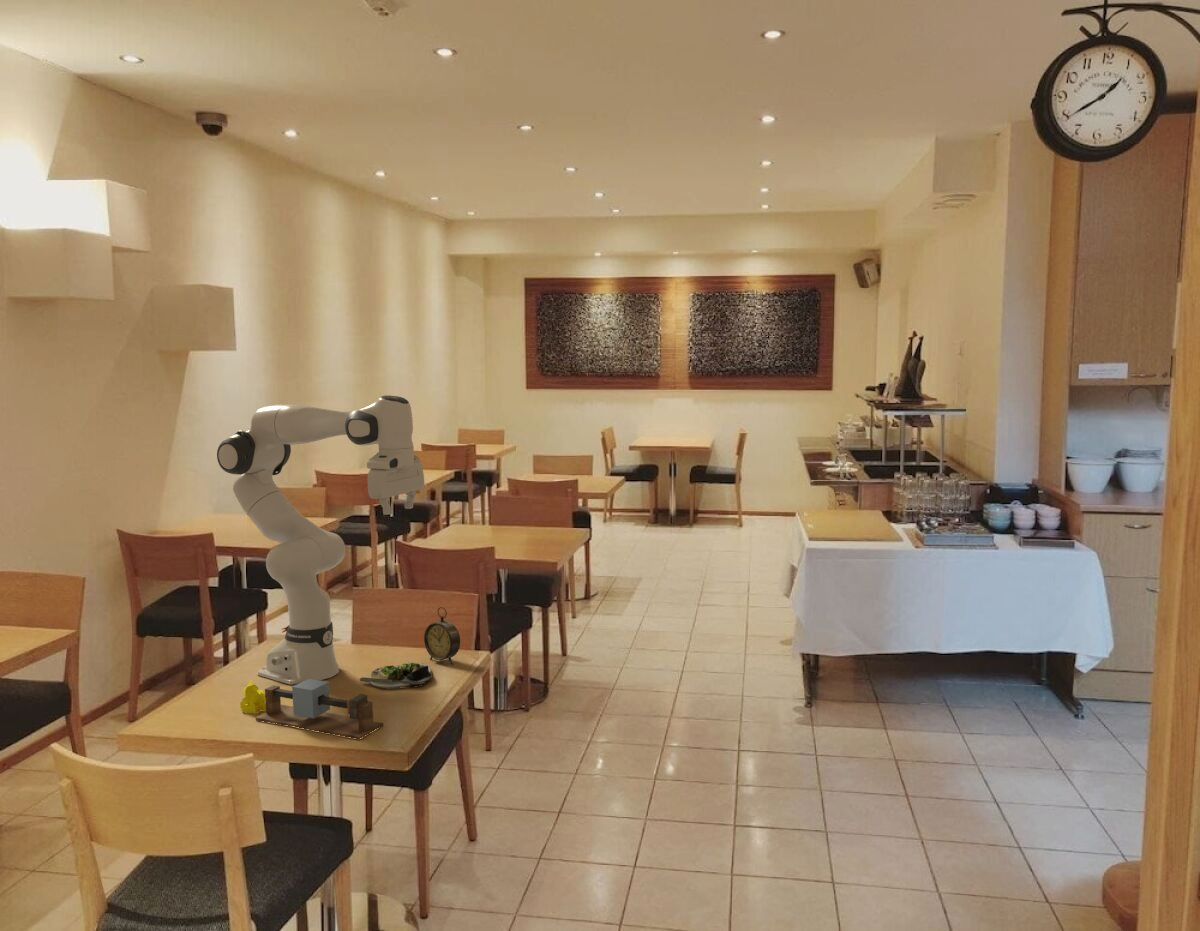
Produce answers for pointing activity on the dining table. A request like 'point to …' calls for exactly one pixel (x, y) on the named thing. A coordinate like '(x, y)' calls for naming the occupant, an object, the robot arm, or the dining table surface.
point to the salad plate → (400, 676)
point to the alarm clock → (442, 639)
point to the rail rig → (341, 725)
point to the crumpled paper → (253, 699)
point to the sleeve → (310, 698)
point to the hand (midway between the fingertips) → (398, 511)
